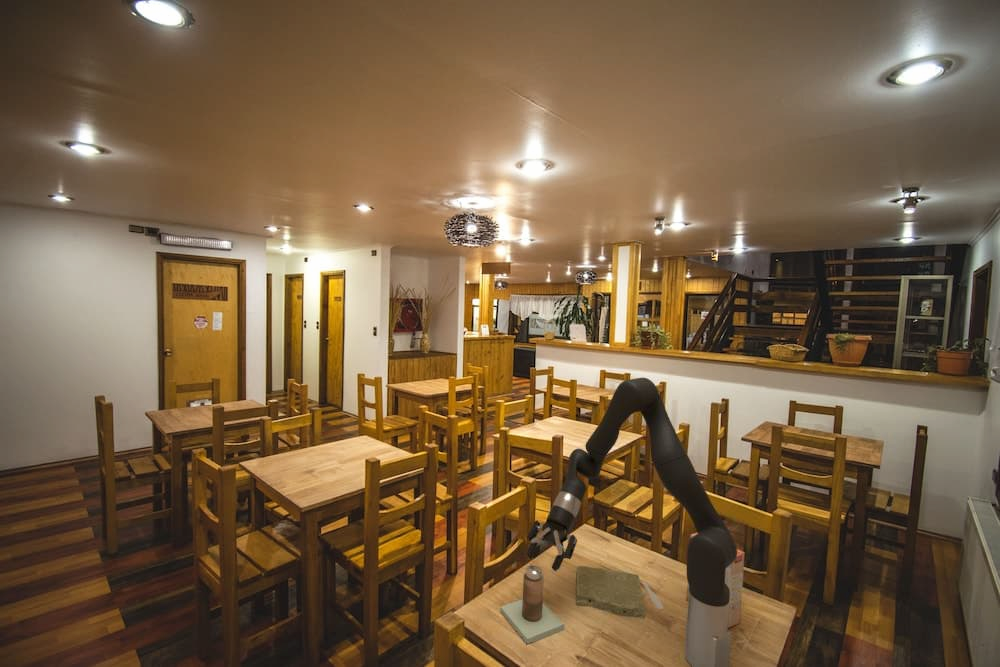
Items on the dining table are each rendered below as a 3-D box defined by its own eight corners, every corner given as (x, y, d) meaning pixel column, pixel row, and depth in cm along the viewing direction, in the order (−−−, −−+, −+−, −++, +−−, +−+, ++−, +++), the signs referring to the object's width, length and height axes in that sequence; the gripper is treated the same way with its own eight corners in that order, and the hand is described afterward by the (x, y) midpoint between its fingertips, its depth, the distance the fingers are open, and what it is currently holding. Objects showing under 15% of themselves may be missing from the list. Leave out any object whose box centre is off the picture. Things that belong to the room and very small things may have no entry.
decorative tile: (576, 572, 149) (576, 562, 149) (638, 582, 145) (639, 572, 145) (574, 609, 131) (574, 597, 131) (645, 621, 127) (646, 609, 127)
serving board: (563, 629, 122) (564, 624, 122) (527, 644, 116) (527, 639, 116) (534, 599, 134) (535, 594, 134) (500, 611, 128) (500, 606, 128)
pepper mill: (545, 617, 124) (548, 572, 123) (529, 624, 121) (531, 578, 120) (534, 605, 129) (536, 562, 128) (518, 611, 126) (520, 567, 125)
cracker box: (741, 623, 127) (746, 552, 126) (727, 629, 124) (732, 557, 123) (699, 594, 139) (703, 529, 138) (685, 599, 136) (689, 533, 135)
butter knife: (655, 608, 131) (664, 608, 132) (623, 558, 158) (631, 557, 158) (655, 610, 131) (664, 610, 132) (623, 560, 158) (631, 559, 159)
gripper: (540, 498, 137) (515, 549, 129) (581, 512, 128) (557, 568, 120) (549, 509, 141) (526, 559, 133) (589, 524, 132) (567, 579, 124)
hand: (541, 563), depth 127 cm, fingers open, 8 cm apart
